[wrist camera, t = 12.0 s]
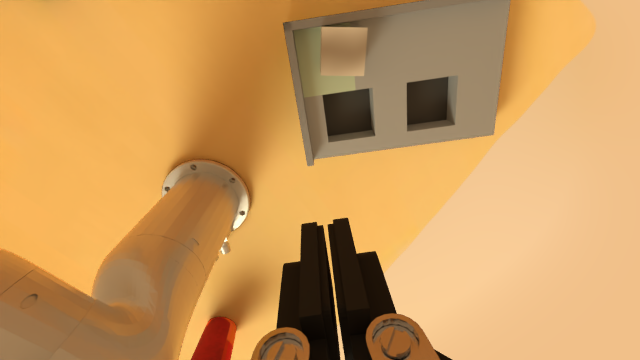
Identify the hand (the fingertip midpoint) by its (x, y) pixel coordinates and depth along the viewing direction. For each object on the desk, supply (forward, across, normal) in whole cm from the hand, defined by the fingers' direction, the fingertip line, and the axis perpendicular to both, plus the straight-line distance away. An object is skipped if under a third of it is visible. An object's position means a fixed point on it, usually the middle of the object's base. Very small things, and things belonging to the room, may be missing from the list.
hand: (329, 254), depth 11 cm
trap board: (+30, -10, -2) cm, 32 cm away
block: (+27, -4, -6) cm, 28 cm away
